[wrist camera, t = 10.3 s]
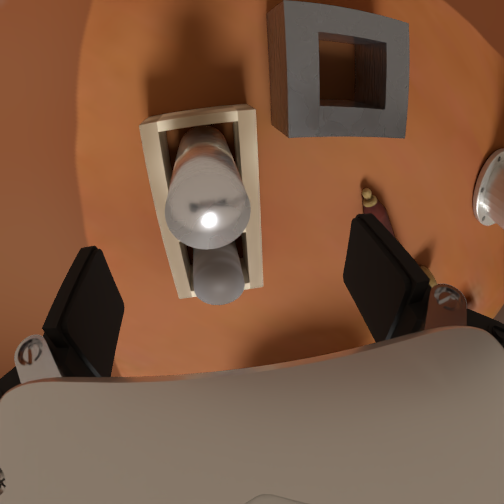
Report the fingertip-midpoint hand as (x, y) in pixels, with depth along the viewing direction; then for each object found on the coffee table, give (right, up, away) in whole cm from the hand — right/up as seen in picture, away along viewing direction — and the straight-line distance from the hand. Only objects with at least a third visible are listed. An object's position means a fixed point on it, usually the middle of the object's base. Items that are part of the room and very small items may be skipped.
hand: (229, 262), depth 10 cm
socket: (+7, +16, +10) cm, 20 cm away
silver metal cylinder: (-3, +9, +13) cm, 16 cm away
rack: (-3, +5, +15) cm, 16 cm away
